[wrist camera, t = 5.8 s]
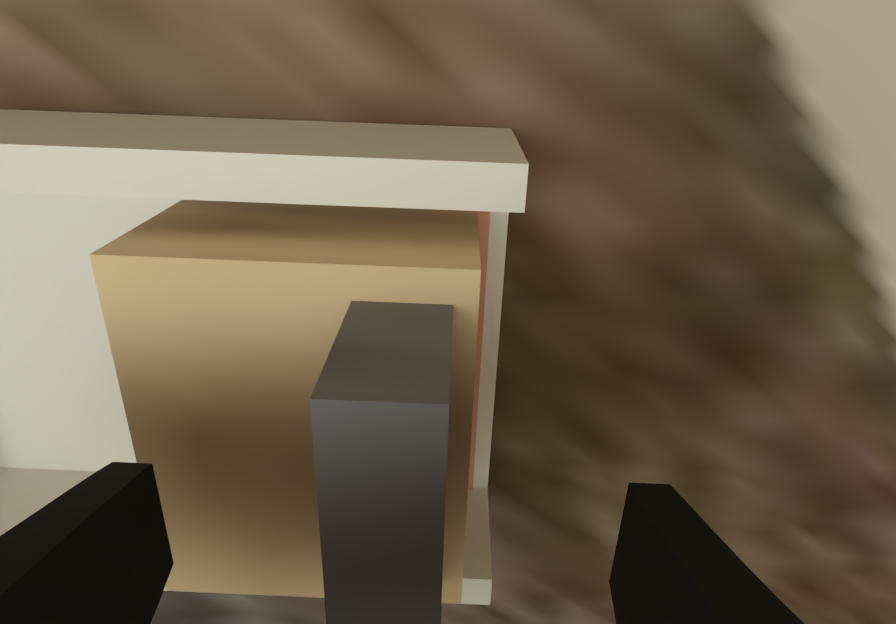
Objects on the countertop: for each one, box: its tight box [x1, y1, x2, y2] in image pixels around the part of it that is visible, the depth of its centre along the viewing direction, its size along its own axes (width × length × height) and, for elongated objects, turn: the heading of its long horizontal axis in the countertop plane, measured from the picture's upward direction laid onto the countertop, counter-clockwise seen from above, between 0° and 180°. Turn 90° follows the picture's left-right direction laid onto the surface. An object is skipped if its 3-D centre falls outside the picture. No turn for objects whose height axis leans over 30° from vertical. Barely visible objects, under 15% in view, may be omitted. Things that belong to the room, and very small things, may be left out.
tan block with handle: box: [89, 200, 481, 624], centre depth 11 cm, size 7×6×7 cm
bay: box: [0, 109, 529, 605], centre depth 14 cm, size 10×14×4 cm
